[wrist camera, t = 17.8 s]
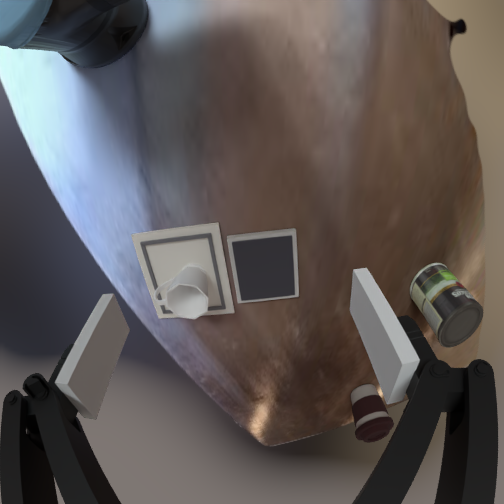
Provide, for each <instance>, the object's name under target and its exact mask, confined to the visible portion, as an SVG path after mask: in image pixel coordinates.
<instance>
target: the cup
mask: <svg viewBox="0 0 504 504" xmlns="http://www.w3.org/2000/svg"><path fill="white" fill-rule="evenodd" d="M169 285H170V286H169ZM167 286H169V288H168V289H167V291H166V299H163V300H157V296H158V294H159V293H160V291H161V290H163V289H164V288H166V287H167ZM208 299H209V297H208V282H207V278H206V271H205V270H204V269H203V267H202V266H201V265H200V264H193V263H189V264H188V265H186V266H185V267H184V268H182V271H181V272H180V273H179V274H178V275H177V276H176V277H174V278H172V279H170V280H168V281H167V282H165V283H163V284H162V285H160V286H159V287H158V288H157V289H156V290H155V292H154V300H155V302H156V303H157V304H158V305H166V307H167V308H169V309H170V310H171V311H172V312H173V313H174V314H175V315H176V316H177V317H181V318H188V319H196V318H198V317H199V316H201V315H203V314H204V313H206V312H207V311H208Z"/></svg>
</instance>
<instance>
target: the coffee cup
mask: <svg viewBox="0 0 504 504" xmlns="http://www.w3.org/2000/svg"><path fill="white" fill-rule="evenodd" d="M351 402H352V411H353V416H354V422H355V426H356V428H357V429H356V431H355V435H356V438H357V439H358V440H363V441H364V442H375V441H378V440H380V439H382V438H384V437H385V436H387V435H388V433H389V431H390V430H391V429H392V427H393V425H394V423H393V420H392V418H391V417H389V416H388V412H387V410H386V407H385V405H384V403H383V401H382V398H381V397H380V396H379V394H378V392H377V389H376V387H375V386H374V385H372V384H365V385H362V386H359V387H357V388H356V389H354V390H353V391H352V393H351Z"/></svg>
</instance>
